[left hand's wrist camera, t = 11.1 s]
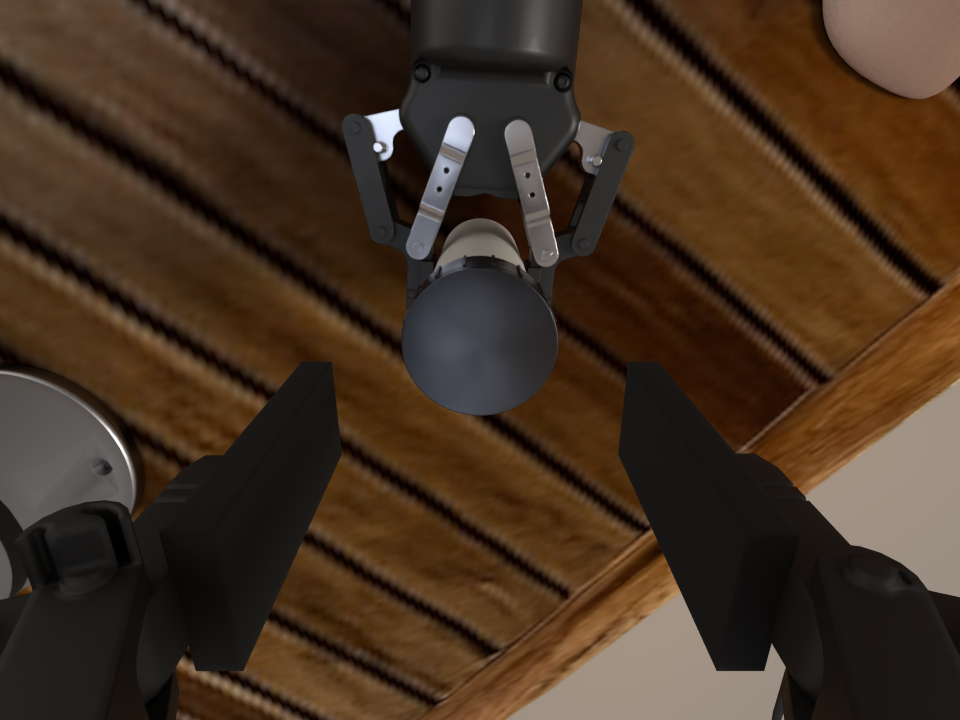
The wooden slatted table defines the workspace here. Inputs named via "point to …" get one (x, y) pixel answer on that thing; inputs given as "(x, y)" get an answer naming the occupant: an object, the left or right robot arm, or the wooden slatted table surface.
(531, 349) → the lid
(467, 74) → the right robot arm
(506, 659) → the wooden slatted table surface
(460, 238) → the jar
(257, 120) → the wooden slatted table surface
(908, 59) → the anatomical model
